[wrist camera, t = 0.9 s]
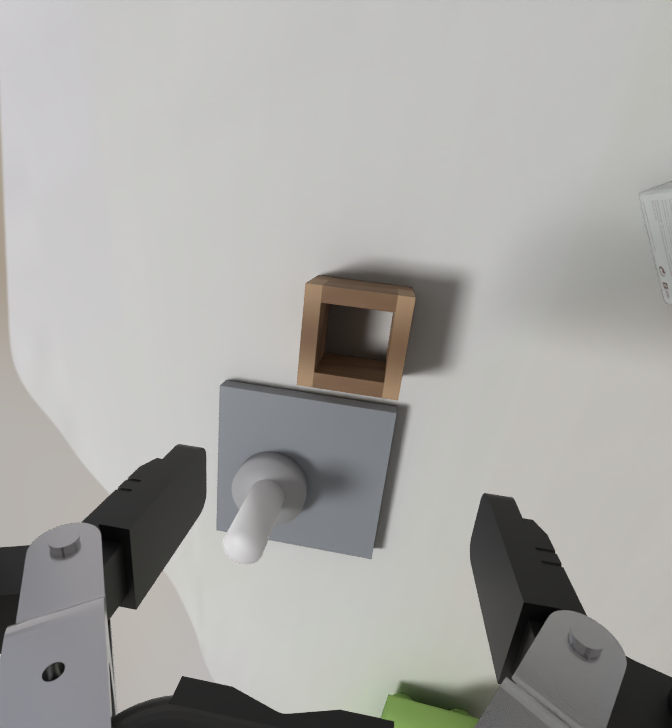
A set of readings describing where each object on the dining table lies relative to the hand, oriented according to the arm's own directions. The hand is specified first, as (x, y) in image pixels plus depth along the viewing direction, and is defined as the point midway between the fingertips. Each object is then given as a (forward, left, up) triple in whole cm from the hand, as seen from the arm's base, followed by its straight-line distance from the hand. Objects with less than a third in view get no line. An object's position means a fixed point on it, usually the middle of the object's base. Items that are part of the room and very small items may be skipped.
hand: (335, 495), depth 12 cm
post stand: (+11, -4, -18) cm, 22 cm away
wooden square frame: (-1, -1, -18) cm, 18 cm away
